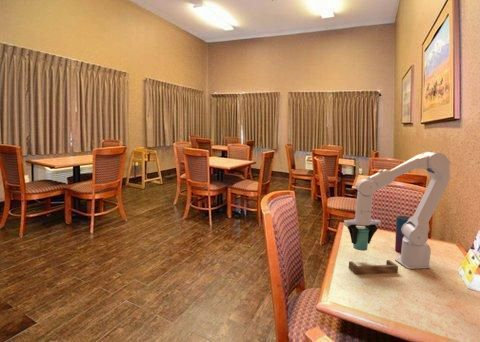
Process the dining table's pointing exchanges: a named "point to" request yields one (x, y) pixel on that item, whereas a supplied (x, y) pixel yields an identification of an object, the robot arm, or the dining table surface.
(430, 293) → the dining table surface
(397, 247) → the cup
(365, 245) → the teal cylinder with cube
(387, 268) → the dock
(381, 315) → the dining table surface
